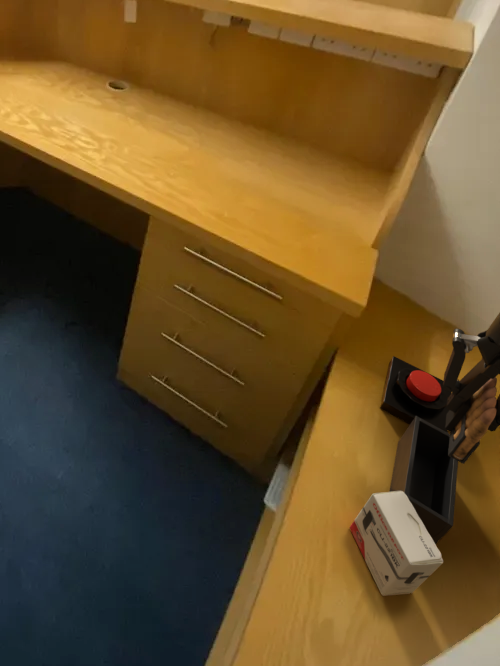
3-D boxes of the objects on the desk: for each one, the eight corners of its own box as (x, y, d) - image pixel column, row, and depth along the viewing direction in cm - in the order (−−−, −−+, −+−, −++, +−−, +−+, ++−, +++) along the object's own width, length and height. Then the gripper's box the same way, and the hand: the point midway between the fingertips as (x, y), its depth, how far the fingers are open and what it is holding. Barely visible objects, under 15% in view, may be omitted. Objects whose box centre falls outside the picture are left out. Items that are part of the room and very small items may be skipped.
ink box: (347, 526, 80) (372, 491, 74) (376, 523, 81) (404, 488, 74) (381, 597, 73) (411, 565, 67) (413, 594, 73) (447, 561, 67)
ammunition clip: (453, 397, 80) (488, 351, 73) (467, 405, 79) (504, 358, 72) (447, 455, 72) (486, 409, 66) (463, 464, 71) (503, 418, 65)
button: (407, 371, 99) (411, 365, 98) (438, 386, 96) (442, 380, 95) (404, 391, 95) (408, 384, 94) (435, 407, 93) (440, 401, 92)
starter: (389, 362, 104) (396, 350, 102) (447, 391, 99) (456, 379, 97) (379, 408, 96) (387, 396, 94) (442, 442, 91) (451, 430, 89)
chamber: (439, 464, 88) (459, 439, 84) (429, 550, 78) (453, 526, 73) (398, 441, 91) (416, 415, 87) (384, 520, 81) (403, 496, 76)
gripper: (465, 315, 64) (397, 417, 77) (627, 385, 57) (523, 486, 69) (468, 279, 70) (404, 379, 82) (617, 339, 62) (522, 440, 74)
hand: (459, 428), depth 75 cm, fingers closed on ammunition clip, 2 cm apart
